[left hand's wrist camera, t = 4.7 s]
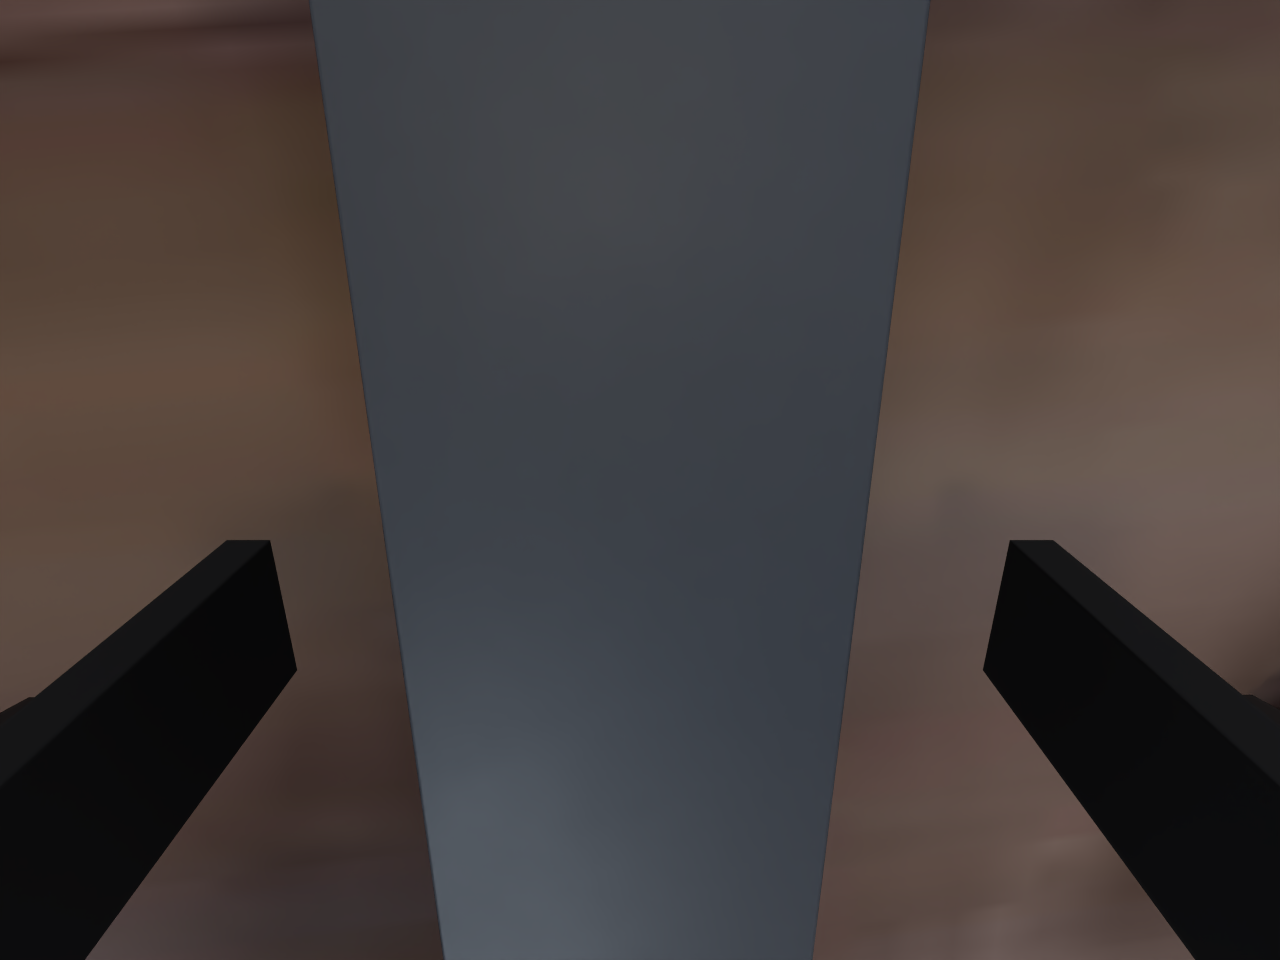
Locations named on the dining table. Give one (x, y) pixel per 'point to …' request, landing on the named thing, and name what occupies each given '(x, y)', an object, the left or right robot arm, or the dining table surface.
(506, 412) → the post
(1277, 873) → the left robot arm
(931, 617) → the dining table surface
